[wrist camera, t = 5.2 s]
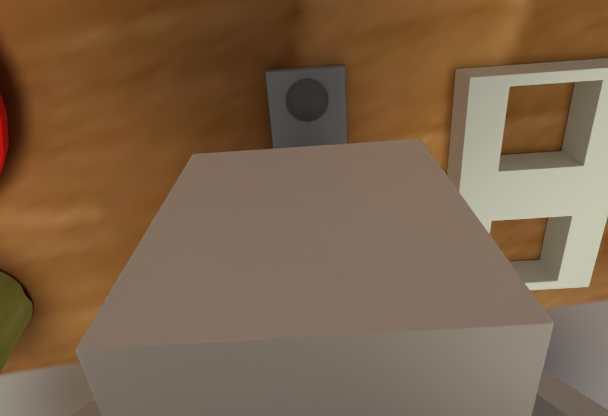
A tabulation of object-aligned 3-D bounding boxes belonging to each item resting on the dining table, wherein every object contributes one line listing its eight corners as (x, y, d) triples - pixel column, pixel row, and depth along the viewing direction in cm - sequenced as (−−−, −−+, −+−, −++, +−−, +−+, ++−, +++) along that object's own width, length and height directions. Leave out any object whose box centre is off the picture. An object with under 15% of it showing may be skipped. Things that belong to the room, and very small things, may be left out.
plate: (266, 69, 26) (260, 84, 22) (343, 64, 25) (350, 77, 22) (278, 188, 29) (275, 216, 26) (347, 184, 29) (353, 211, 25)
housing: (192, 153, 12) (74, 349, 6) (420, 138, 12) (553, 324, 6) (238, 391, 16) (199, 654, 10) (407, 382, 16) (476, 644, 10)
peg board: (455, 69, 26) (470, 77, 23) (617, 57, 25) (647, 65, 23) (439, 272, 32) (449, 294, 30) (568, 265, 32) (588, 286, 29)
